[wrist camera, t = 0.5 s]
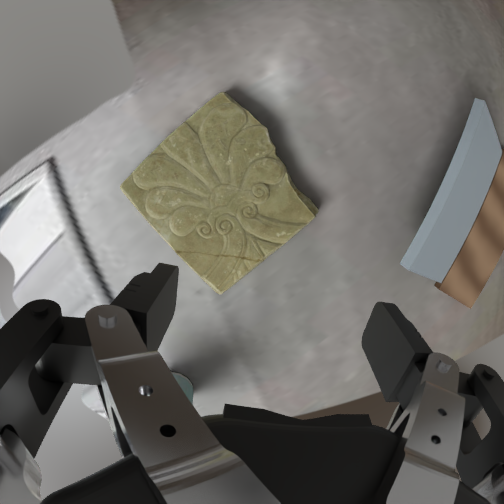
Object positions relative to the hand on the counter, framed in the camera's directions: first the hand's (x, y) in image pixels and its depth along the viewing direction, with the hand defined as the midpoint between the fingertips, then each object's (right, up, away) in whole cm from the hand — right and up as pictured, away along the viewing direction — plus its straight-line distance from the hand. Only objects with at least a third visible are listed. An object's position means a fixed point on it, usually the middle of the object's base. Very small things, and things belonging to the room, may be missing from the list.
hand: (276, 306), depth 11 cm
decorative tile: (-5, +10, +27) cm, 29 cm away
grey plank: (+27, +10, +21) cm, 36 cm away
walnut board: (+38, +6, +27) cm, 47 cm away
